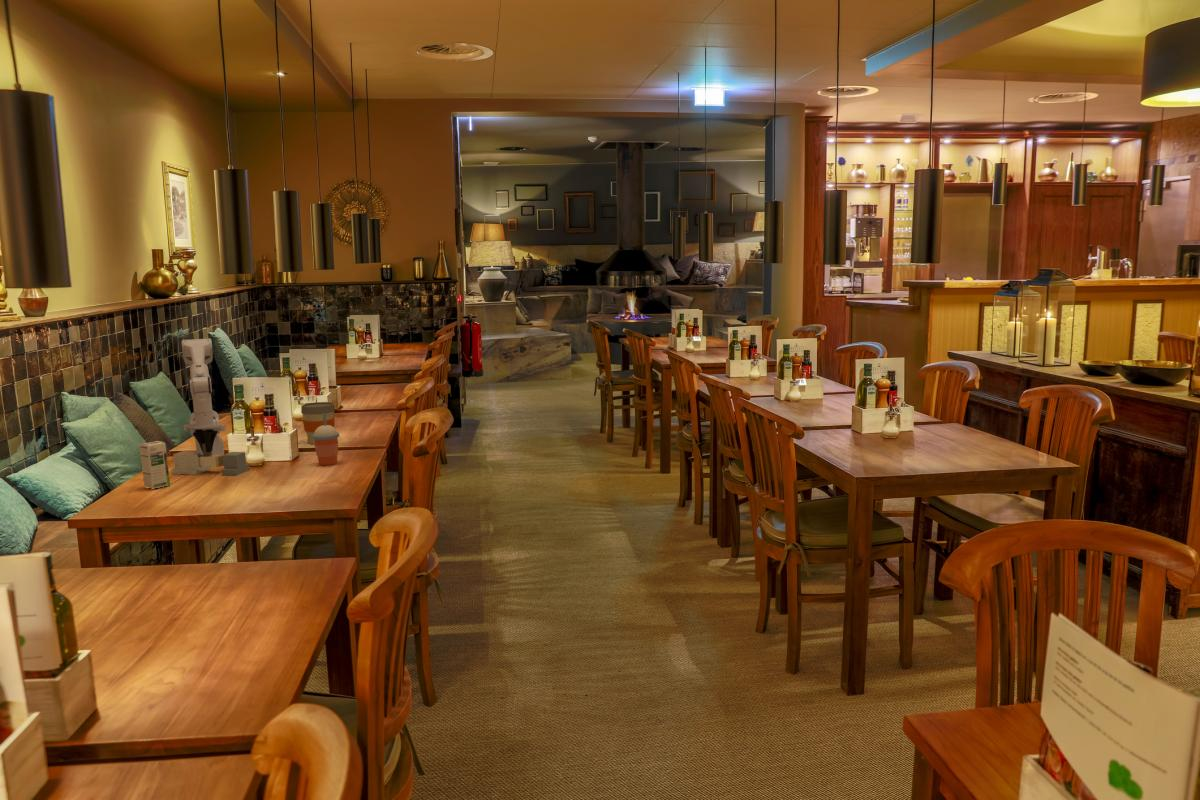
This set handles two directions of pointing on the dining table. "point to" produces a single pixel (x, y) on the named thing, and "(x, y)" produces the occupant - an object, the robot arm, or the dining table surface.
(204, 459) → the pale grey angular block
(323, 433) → the cup with straw
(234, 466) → the slate stepped block
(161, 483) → the syrup box
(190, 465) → the beige stepped block
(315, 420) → the reusable coffee cup
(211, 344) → the robot arm
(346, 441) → the dining table surface
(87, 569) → the dining table surface
